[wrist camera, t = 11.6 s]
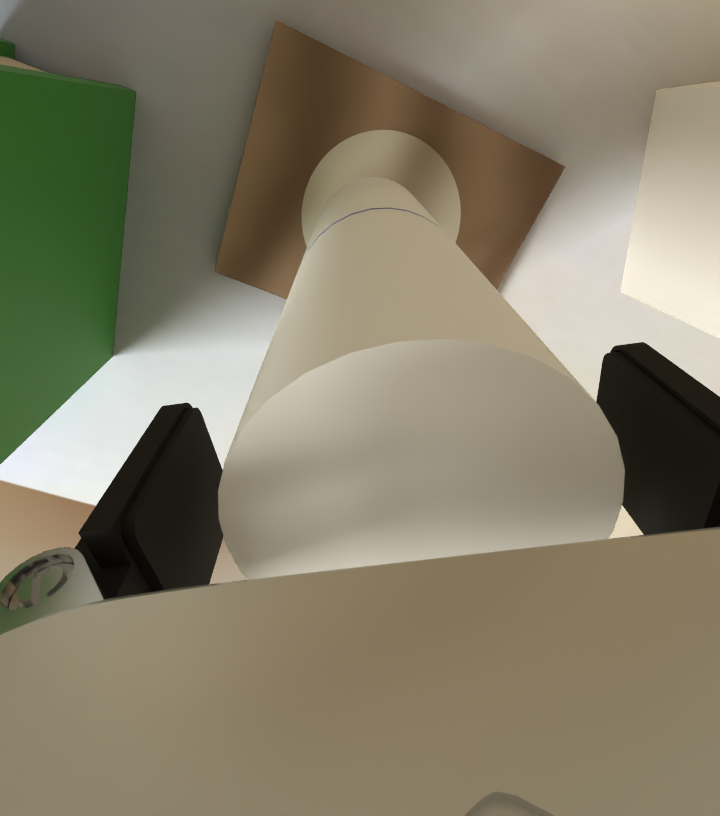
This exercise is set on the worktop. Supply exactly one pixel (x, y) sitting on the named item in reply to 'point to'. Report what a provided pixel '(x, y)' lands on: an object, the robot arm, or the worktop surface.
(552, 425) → the cylindrical container
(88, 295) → the hardback book
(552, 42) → the worktop surface
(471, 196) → the walnut board
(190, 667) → the robot arm
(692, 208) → the milk
